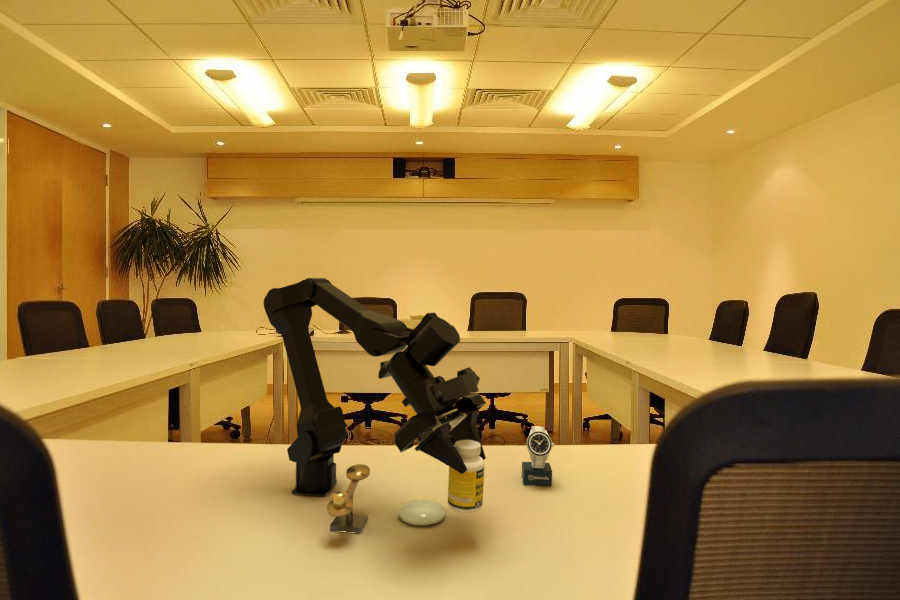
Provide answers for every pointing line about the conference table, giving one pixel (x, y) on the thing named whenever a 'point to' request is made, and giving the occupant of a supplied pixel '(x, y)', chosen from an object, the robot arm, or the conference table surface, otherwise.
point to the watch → (538, 458)
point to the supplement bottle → (467, 479)
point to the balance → (348, 503)
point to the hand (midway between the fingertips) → (474, 466)
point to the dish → (422, 512)
